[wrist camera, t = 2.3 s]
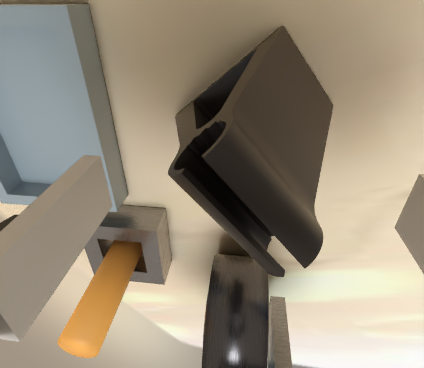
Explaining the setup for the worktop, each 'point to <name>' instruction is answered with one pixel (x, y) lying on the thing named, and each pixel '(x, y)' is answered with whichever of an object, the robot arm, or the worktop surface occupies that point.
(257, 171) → the phone stand
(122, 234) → the pin socket
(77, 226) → the robot arm
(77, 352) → the pin
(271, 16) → the worktop surface
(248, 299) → the caster wheel
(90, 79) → the tray
